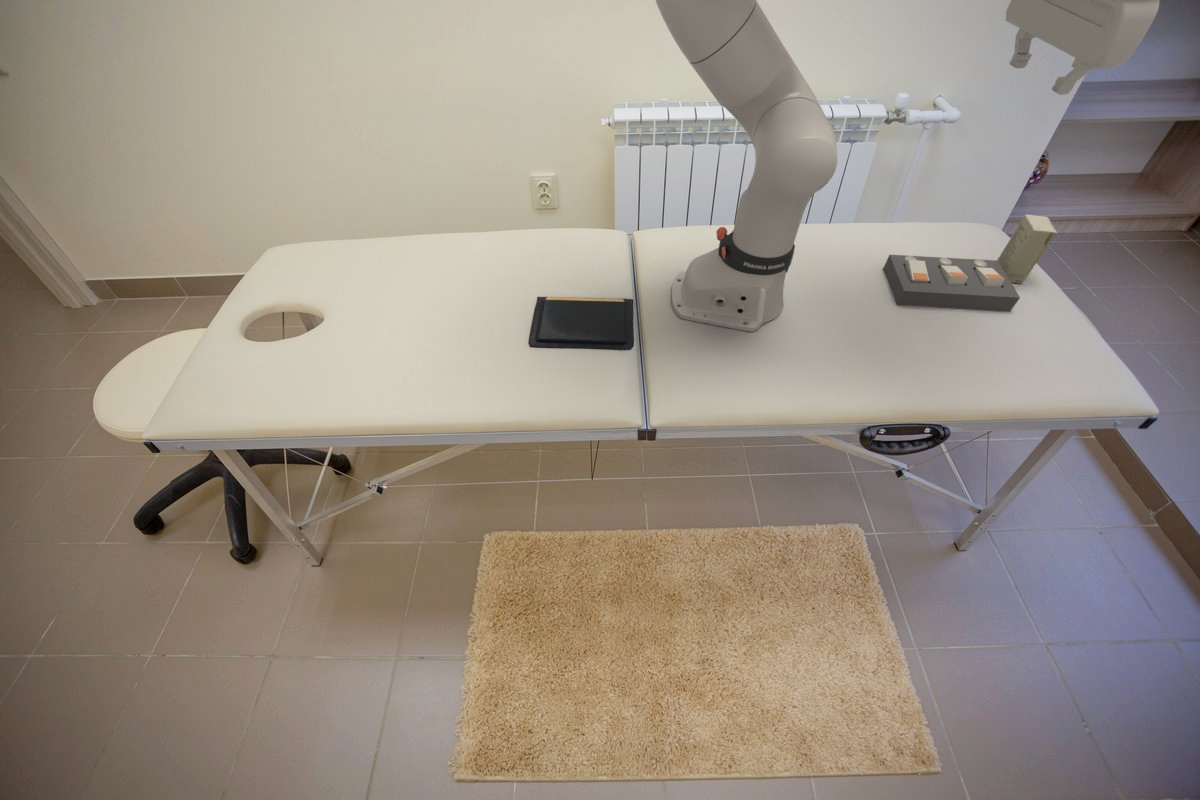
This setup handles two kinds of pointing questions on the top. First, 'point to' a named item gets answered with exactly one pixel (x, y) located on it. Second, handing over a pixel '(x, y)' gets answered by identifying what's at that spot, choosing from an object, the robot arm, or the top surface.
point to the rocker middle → (953, 275)
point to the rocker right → (989, 277)
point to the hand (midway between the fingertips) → (1037, 79)
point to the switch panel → (945, 294)
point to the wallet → (582, 323)
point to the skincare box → (1026, 247)
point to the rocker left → (917, 271)
